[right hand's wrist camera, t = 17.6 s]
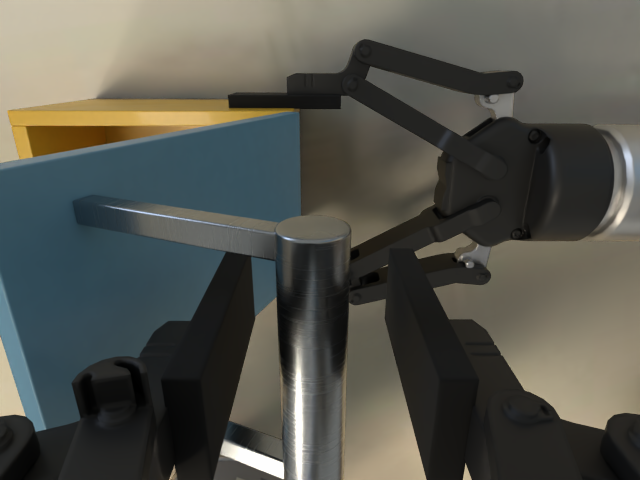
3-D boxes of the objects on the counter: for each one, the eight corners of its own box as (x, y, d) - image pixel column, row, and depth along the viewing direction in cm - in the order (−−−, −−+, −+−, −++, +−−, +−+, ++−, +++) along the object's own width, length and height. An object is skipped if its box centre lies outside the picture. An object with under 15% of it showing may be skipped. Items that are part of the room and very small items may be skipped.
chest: (115, 218, 36) (46, 269, 27) (93, 98, 33) (6, 110, 23) (301, 218, 36) (296, 269, 27) (299, 99, 33) (293, 110, 24)
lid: (46, 485, 13) (302, 617, 10) (-54, 172, 9) (293, 224, 6) (290, 271, 27) (428, 298, 24) (286, 111, 23) (448, 118, 20)
